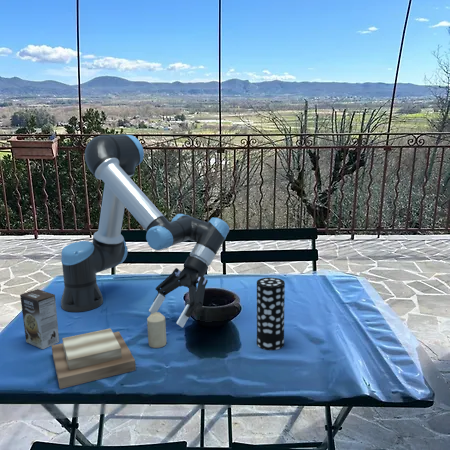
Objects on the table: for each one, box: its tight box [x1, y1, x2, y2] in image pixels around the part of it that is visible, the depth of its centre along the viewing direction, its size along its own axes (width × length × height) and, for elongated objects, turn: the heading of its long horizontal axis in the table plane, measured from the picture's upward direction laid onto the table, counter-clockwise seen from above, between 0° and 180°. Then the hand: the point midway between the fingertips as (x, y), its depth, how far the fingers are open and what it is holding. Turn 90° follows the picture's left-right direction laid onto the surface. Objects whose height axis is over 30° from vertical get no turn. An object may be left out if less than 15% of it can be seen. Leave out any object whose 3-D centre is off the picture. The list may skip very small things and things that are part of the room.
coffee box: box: [19, 288, 60, 350], centre depth 141 cm, size 9×6×16 cm
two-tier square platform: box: [51, 328, 137, 390], centre depth 129 cm, size 20×20×6 cm
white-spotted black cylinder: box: [256, 276, 286, 351], centre depth 136 cm, size 8×8×20 cm
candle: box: [146, 311, 167, 349], centre depth 139 cm, size 6×6×10 cm
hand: (165, 319), depth 139 cm, fingers open, 13 cm apart
